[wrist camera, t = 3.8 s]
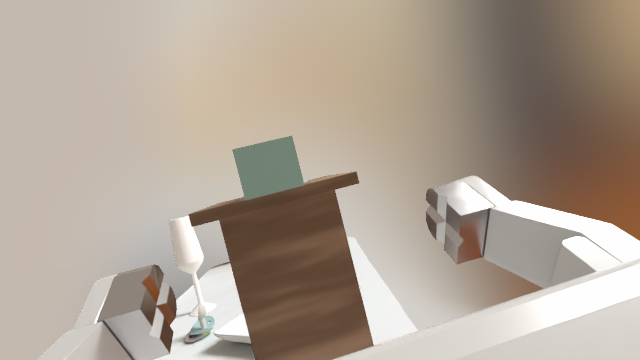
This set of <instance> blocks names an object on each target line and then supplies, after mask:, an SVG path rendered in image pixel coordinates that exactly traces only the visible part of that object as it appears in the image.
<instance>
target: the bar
mask: <svg viewBox="0 0 640 360" xmlns="http://www.w3.org/2000/svg"><path fill="white" fill-rule="evenodd" d="M233 154H234V157H235V161H236V165H237V169H238V173H239V177H240V181H241V185H242V189H243V192H244V196H245V200H249V199H253V198H257V197H261V196H265V195H269V194H273V193H277V192H280V191H284V190H288V189H292V188H296V187H300V186H304V181H303V178H302V174H301V170H300V166H299V162H298V158H297V154H296V150H295V146H294V142H293V138H292V136H289V137H285V138H280V139H276V140H272V141H267V142H263V143H259V144H254V145H251V146H246V147H242V148H238V149H233Z"/></svg>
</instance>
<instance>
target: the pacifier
mask: <svg viewBox="0 0 640 360" xmlns="http://www.w3.org/2000/svg"><path fill="white" fill-rule="evenodd" d="M205 314H206V308H205V306H204V305H203V304H199V308H198V321H197V322H196V323H195V324H194V326H193V327H192V329H191V331H190V332H189V333H188V334H187V335H186V337H185V341H186V342H195V341H197V340H199V339H200V338H203V337H205V336H207V335H208V334H209V333H210V330H211V329H213V325H214V318H213V317H211V316H205ZM208 322H210V323H209V324H207V323H208ZM191 335H197V337H195V338H190V336H191Z"/></svg>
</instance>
